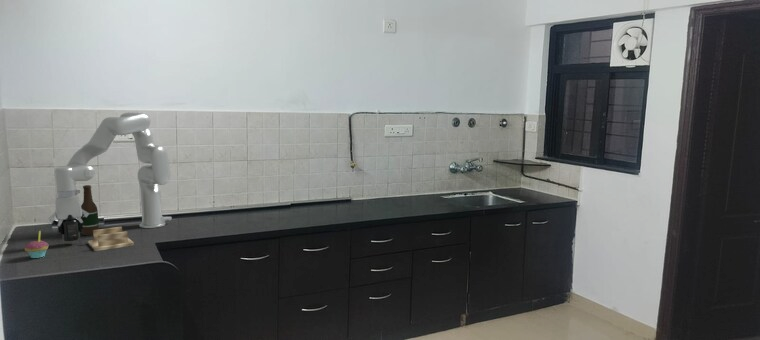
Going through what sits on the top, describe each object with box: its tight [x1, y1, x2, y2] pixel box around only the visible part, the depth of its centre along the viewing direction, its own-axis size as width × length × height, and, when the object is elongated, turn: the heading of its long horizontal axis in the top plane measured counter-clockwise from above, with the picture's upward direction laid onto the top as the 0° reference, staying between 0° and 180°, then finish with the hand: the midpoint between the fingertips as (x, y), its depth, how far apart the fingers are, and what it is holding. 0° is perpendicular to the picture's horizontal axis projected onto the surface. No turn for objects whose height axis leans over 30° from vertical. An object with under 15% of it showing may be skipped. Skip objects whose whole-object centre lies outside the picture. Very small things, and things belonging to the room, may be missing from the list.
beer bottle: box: [80, 184, 100, 237], centre depth 269 cm, size 8×8×24 cm
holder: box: [88, 226, 135, 252], centre depth 251 cm, size 16×16×6 cm
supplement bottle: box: [61, 215, 81, 242], centre depth 250 cm, size 7×7×12 cm
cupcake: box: [24, 230, 50, 258], centre depth 230 cm, size 9×8×12 cm
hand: (70, 232), depth 250 cm, fingers closed on supplement bottle, 6 cm apart
